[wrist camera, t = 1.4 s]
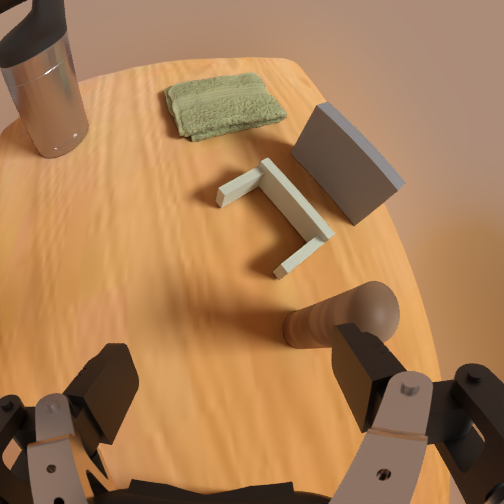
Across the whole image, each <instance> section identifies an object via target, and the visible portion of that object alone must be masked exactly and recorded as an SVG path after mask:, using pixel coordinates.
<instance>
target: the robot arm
mask: <svg viewBox="0 0 504 504" xmlns="http://www.w3.org/2000/svg"><path fill="white" fill-rule="evenodd" d="M25 1H27V0H0V14H1V13H3V12H5V11H7V10H9V9H10V8H12V7H14V6H16V5H18V4H20V3H22V2H25ZM0 69H1V72H2V75H3V77H4V80H5V82H6V85H7V87H8V89H9V92H10V94H11V97H12V98H13V101H14V104H15V106H16V108H17V110H18V112H19V114H20V117H21V119H22V121H23V123H24V125H25V127H26V129H27V131H28V133H29V135H30V137H31V139H32V141H33V143H34V145H35V147H36V148H37V150H38V152H39V153H40V155H42V156H43V157H47V158H54V157H58V156H61V155H64V154H65V153H67V152H69V151H71V150H72V149H73V148H75V147H76V146H77V145H78V144H79V143H80V142H81V141H82V140H83V138H84V137H85V135H86V133H87V131H88V126H89V125H88V120H87V116H86V113H85V109H84V106H83V102H82V98H81V94H80V90H79V86H78V82H77V78H76V74H75V69H74V64H73V60H72V55H71V49H70V45H69V39H68V33H67V25H66V19H65V8H64V0H33V1H32V10H31V11H30V13H29V14H28V15H27V16H26V17H25V18H24V19H23V20H22V21H21V22H20V23H19V24H18V25H17V26H16V27H14V28H13V29H12V30H11V31H10V32H9V33H8V34H7V35H6V36H5V37H4V38H3V39H2V40H1V41H0ZM332 369H333V372H334V375H335V377H336V379H337V381H338V384H339V386H340V388H341V390H342V392H343V394H344V396H345V398H346V400H347V403H348V405H349V407H350V409H351V411H352V413H353V415H354V418H355V420H356V422H357V424H358V426H359V428H360V431H361V433H364V432H367V433H366V435H365V437H364V439H363V442H362V444H361V446H360V448H359V450H358V452H357V454H356V456H355V458H354V460H353V462H352V464H351V466H350V468H349V470H348V471H347V473H346V475H345V477H344V479H343V480H342V482H341V484H340V486H339V487H338V489H337V491H336V492H335V494H334V496H333V497H332V498H331V497H327V496H324V495H320V494H316V493H310V492H303V491H294V489H293V483H292V482H286V483H278V484H269V485H258V486H248V487H244V488H240V489H236V490H231V491H227V492H222V493H217V494H211V495H203V494H199V493H195V492H191V491H188V490H184V489H181V488H177V487H174V486H171V485H168V484H161V483H153V482H146V481H140V480H134V479H132V480H131V483H130V486H129V488H126V489H118V490H117V488H116V486H115V484H114V482H113V480H112V478H111V475H110V473H109V471H108V468H107V466H106V464H105V461H104V458H103V456H102V453H101V451H100V450H99V448H98V445H99V443H104V444H110V445H112V444H113V441H114V439H115V437H116V435H117V433H118V430H119V428H120V426H121V424H122V422H123V420H124V417H125V415H126V413H127V411H128V409H129V407H130V405H131V403H132V400H133V398H134V396H135V394H136V392H137V390H138V387H139V378H138V374H137V371H136V369H135V366H134V363H133V360H132V357H131V355H130V352H129V349H128V347H127V345H126V344H124V343H108V344H106V345H105V347H104V348H103V349H102V350H101V352H100V353H99V354H98V355H97V356H95V357H94V358H92V359H91V360H89V361H88V362H87V364H86V365H85V366H84V367H83V370H81V371H80V372H79V373H78V375H77V376H76V377H75V378H74V380H73V381H72V382H71V383H70V385H69V386H68V387H67V389H66V390H65V391H64V392H63V394H59V393H54V394H49V395H47V396H45V397H43V398H42V399H40V400H39V401H38V403H37V404H36V407H25V406H24V405H23V403H22V401H21V399H20V398H19V397H18V396H17V395H7V396H4V397H2V398H1V399H0V504H410V501H411V498H412V495H413V493H414V490H415V486H416V483H417V480H418V477H419V473H420V470H421V466H422V463H423V459H424V455H425V451H426V446H427V445H429V444H435V446H436V448H437V450H438V451H439V453H440V455H441V457H442V459H443V460H444V462H445V464H446V466H447V468H448V470H449V471H450V473H451V475H452V477H453V479H454V481H455V483H456V485H457V487H458V488H459V490H460V492H461V494H462V496H463V498H464V500H465V502H466V504H504V384H503V383H502V382H501V381H500V380H499V379H498V378H497V377H496V376H495V375H494V374H493V373H492V372H491V371H490V370H489V369H488V368H486V367H485V366H483V365H479V364H465V365H463V366H461V367H460V368H459V369H458V370H457V371H456V374H455V377H454V380H447V381H440V382H432V381H431V380H430V378H429V377H427V376H426V375H424V374H422V373H419V372H415V371H407V370H406V369H405V368H404V367H403V365H402V364H401V363H400V362H399V361H398V360H397V358H396V357H395V356H394V355H393V354H392V353H391V352H389V349H388V348H387V347H386V346H384V343H383V342H382V341H381V340H380V339H379V338H378V337H377V336H375V335H373V334H371V333H369V332H363V333H362V332H361V331H360V330H359V328H358V327H357V326H356V325H355V323H354V322H349V323H343V324H338V325H334V326H333V329H332ZM473 423H474V424H475V425H476V426H477V428H478V429H479V430H480V432H481V433H482V435H483V436H484V439H485V442H484V441H483V440H482V438H481V437H480V436H479V434H478V433H477V431H476V430H475V429H474V427H473V426H472V425H473ZM12 438H13V439H14V440H15V442H16V443H17V444H18V446H19V447H20V448H21V449H22V451H21V453H20V455H19V456H18V458H17V460H16V461H15V463H14V465H13V466H12V468H11V470H9V469H8V468H7V467H6V466H5V464H4V462H3V459H2V454H3V452H4V450H5V448H6V447H7V445H8V444H9V442H10V441H11V439H12Z"/></svg>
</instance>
